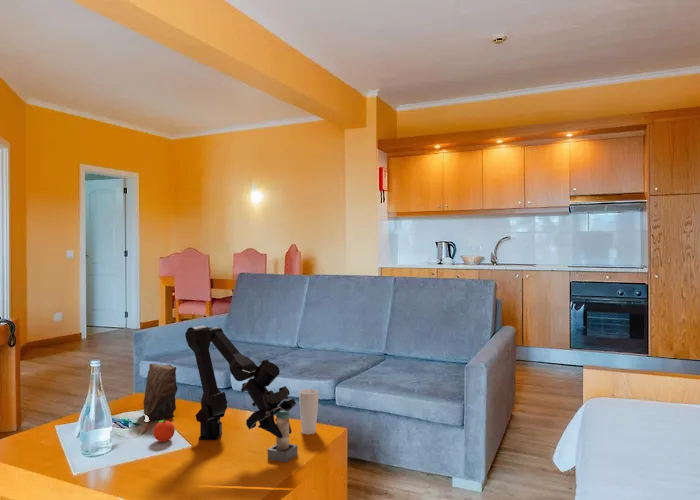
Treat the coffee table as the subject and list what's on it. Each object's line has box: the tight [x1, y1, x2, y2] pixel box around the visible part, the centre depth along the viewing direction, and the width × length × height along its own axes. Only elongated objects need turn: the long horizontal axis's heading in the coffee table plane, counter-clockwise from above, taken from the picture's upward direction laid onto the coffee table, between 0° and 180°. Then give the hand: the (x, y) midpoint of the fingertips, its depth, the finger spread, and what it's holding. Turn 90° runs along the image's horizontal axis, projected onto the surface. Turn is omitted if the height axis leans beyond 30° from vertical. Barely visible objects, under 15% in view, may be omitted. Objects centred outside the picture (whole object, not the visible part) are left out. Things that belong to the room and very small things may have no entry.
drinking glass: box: [298, 388, 319, 435], centre depth 182 cm, size 7×7×15 cm
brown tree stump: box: [143, 363, 178, 422], centre depth 200 cm, size 13×13×20 cm
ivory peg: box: [275, 411, 290, 452], centre depth 161 cm, size 4×4×14 cm
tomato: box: [153, 420, 176, 443], centre depth 175 cm, size 8×7×7 cm
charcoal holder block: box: [267, 443, 299, 464], centre depth 161 cm, size 7×7×4 cm
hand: (286, 435), depth 160 cm, fingers open, 4 cm apart
